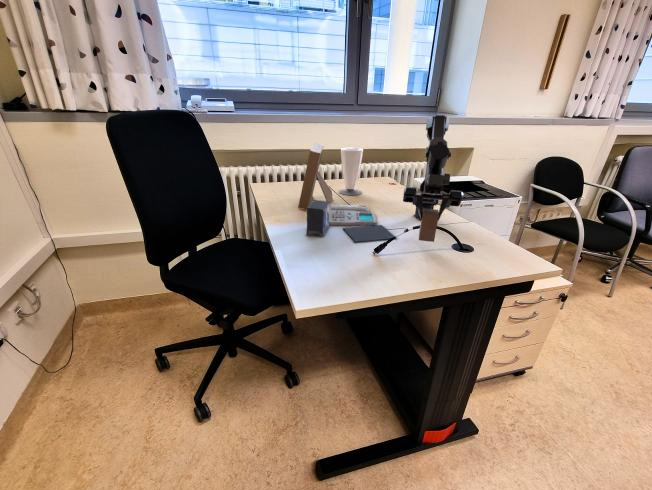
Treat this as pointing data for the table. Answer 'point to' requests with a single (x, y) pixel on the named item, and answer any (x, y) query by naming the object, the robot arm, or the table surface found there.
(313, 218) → the small box
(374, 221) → the office telephone
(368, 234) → the desk pad
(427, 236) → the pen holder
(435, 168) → the robot arm
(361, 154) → the cup
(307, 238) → the table surface
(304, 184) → the photo frame
